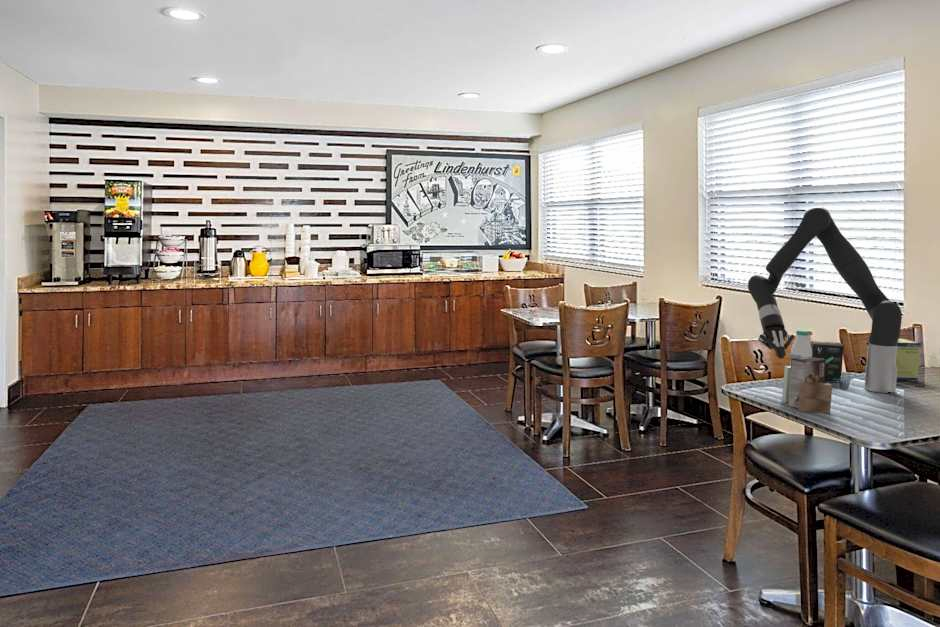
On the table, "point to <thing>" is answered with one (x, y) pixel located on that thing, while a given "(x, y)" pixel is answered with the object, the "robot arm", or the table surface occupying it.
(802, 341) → the milk bottle
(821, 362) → the coffee box
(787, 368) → the bookend
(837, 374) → the tampon box
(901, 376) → the protein box
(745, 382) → the table surface
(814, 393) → the end block
